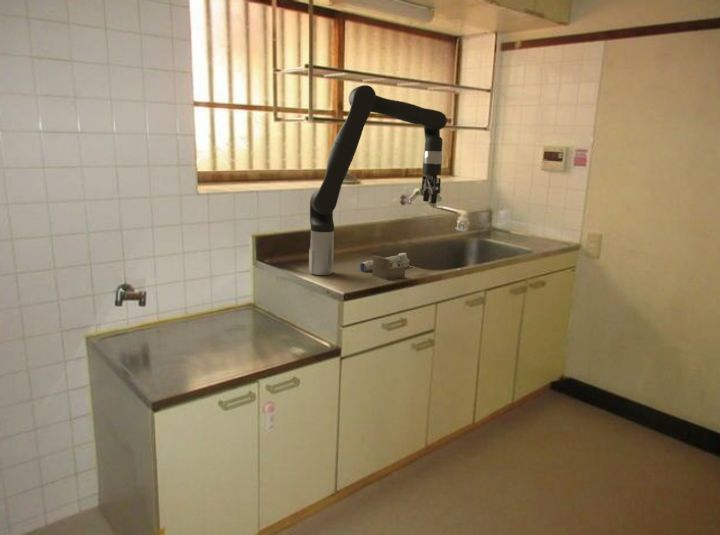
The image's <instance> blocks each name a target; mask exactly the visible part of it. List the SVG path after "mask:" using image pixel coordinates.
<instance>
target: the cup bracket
mask: <svg viewBox="0 0 720 535" xmlns="http://www.w3.org/2000/svg"><path fill="white" fill-rule="evenodd" d="M386 258H387V257H382V256H379V255H372V260H373V270H371V271H372V274H371V275H372V276H374V277H376V278H380V279H382V280H385V281H389V280H396V279H405V277H406V268H405V266H400V267H397V266H394V267H393V263H392V262H390V260H389V259H386Z"/></svg>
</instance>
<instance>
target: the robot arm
mask: <svg viewBox="0 0 720 535" xmlns="http://www.w3.org/2000/svg"><path fill="white" fill-rule="evenodd" d="M348 103H349V105H350V108H349V112H348V114H347V117H346V119H345V121H344V123H343V124H342V126H341V127H340V128H339V130H338V133H337V135H336V136H335V139H334V140H333V143H332V146H331V148H330V151H329V153H328V157H327V162H326V170H325V175H324V178H323V181H322V184H321V185H320V187H319V189H317V190H316V191H314V192H313V193H311V196H310V201H309V222H310V223H309V224H310V246H309V249H308V272H309V274H311V275H314V276H315V275H316V276H329V275H332V274H333V272H334V246H335V245H334V243H335V242H334V241H335V224H334V210H335V209H336V208H337V203H338V200H339V196H340V192H341V189H342V185H343V183H344V180H345V178H346V176H347V174H348V171H349V170H350V166H351V164H352V162H353V159H354V157H355V154H356V152H357V150H358V146H359V143H360V140H361V138H362V134H363V130H364V128H365V125H366V123H367V120H368V118H369V116H370V115H371V113H374V114H379V115H384V116H387V117H389V118H393V119H396V120H400V121H402V122H405V123H409V124H413V125H421V126H423V131H424V140H425V142H424V153H423V159H422V160H423V161H422V174H423V176H422V179H421V191H422V192H423V194H422V196H423V197H422V201H423V202H429V200H430V204H434V205H436V204H437V200H438V199H437V198H438V194H440V193H441V182H442V180H441V177H438V176H441V174H442V164H443V162H442V160H443V145H444V144H443V138H442V137H441V135H440V133H441V132H440V131H441V130H443V128H445V126H447V123H448V119H447V116H446V114H445V113H444V112H442V111H439V110H436V109H431V108H425V107H422V106H419V105H416V104H413V103H409V102H405V101H400V100H396V99H389V98H385V97H382V96H379V95H377V94H376V91H375V89H374V88H373V86H370V85H368V84H366V85H360V86H357V87H355V88H353V89H352V90H351V91H350V93H349V95H348ZM430 193H431V194H430ZM429 198H430V199H429Z"/></svg>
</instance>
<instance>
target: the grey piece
mask: <svg viewBox="0 0 720 535" xmlns="http://www.w3.org/2000/svg"><path fill="white" fill-rule="evenodd" d="M385 258H386V259H389V260H390V262H392V263H393V264H396V267H400V266H405V269H406V268H408V267H409V266H410V265H409V264H410V258H408V255H407V252H400V253H398V254H397V255H392V256H387V257H385ZM358 266H359V270H360V272H363V273H365V272H371V271H373V259H372V260H366V261H365V262H363V261H362V262H361V263H359V265H358Z"/></svg>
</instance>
